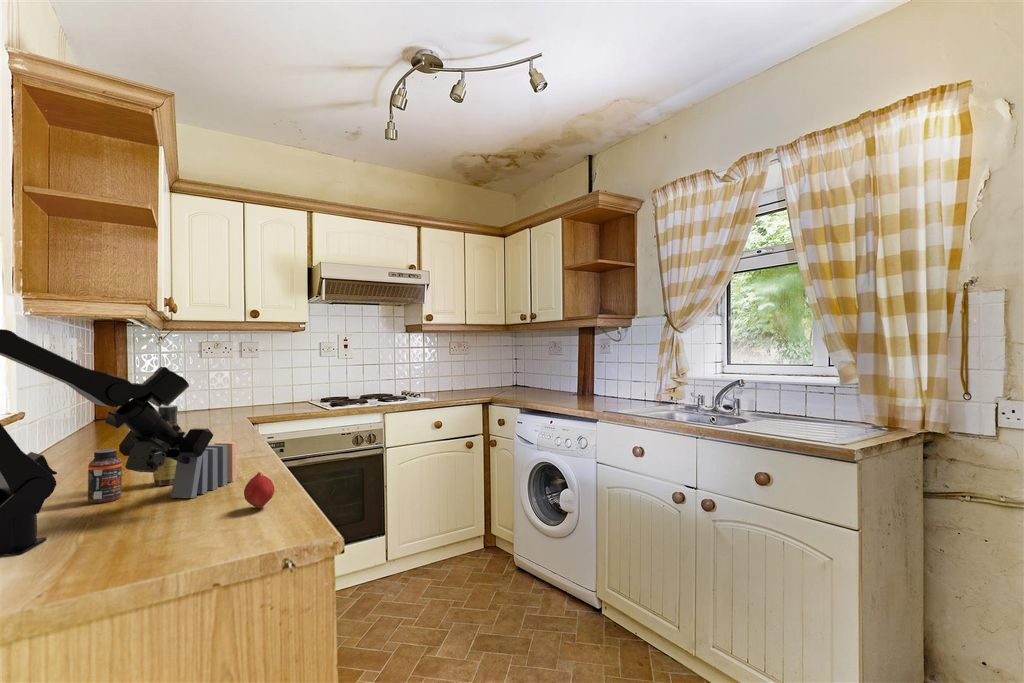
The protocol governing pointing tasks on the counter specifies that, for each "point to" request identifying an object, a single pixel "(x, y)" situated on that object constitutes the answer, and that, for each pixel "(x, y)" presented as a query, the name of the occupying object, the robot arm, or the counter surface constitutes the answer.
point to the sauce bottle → (167, 471)
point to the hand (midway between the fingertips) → (187, 462)
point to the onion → (259, 490)
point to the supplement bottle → (104, 476)
